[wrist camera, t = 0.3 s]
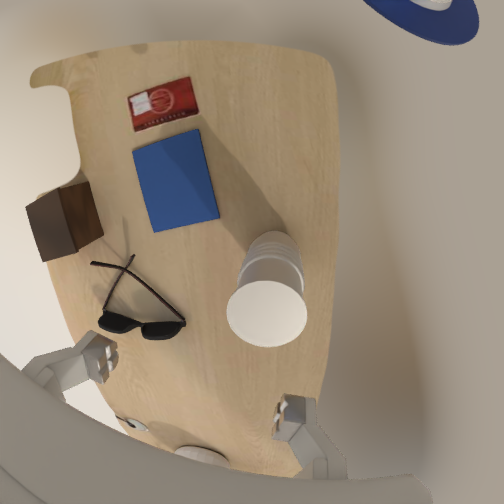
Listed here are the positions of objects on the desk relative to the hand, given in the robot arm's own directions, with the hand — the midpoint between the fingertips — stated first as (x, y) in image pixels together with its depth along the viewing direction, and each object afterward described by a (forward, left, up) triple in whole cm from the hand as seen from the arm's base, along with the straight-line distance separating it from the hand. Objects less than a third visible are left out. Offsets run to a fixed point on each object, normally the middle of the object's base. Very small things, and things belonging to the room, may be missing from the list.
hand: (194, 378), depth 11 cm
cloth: (-8, -9, -26) cm, 28 cm away
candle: (+4, +2, -26) cm, 26 cm away
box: (-8, -28, -26) cm, 39 cm away
